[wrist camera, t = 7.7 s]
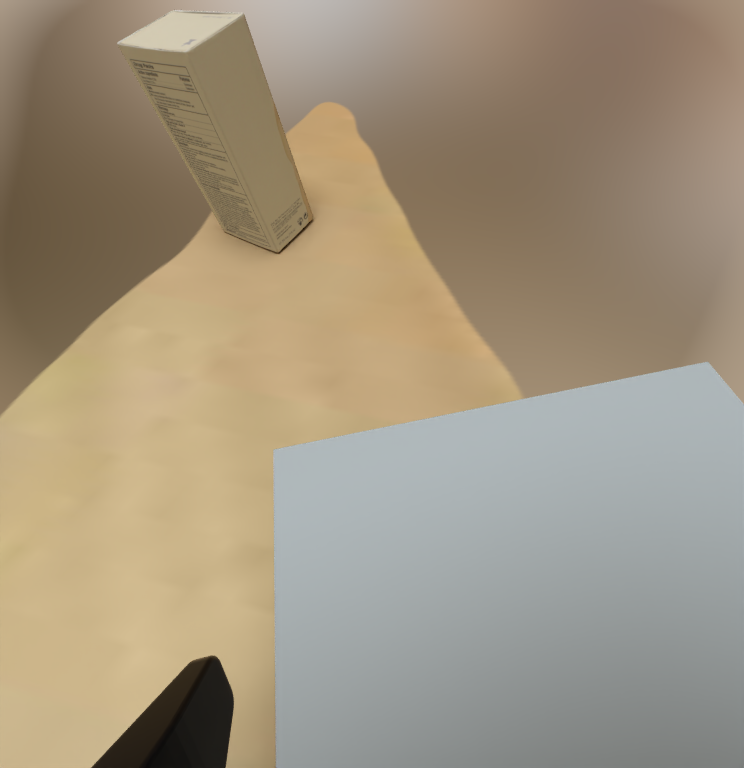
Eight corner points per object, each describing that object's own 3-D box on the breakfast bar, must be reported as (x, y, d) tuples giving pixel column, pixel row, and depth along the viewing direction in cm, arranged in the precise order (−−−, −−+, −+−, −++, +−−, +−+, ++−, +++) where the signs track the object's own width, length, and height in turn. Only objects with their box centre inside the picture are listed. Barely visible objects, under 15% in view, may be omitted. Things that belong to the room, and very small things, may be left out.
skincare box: (315, 219, 31) (251, 11, 21) (277, 257, 29) (187, 51, 19) (257, 199, 33) (174, 5, 23) (218, 232, 32) (111, 39, 22)
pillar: (596, 774, 11) (1506, 1307, 2) (416, 807, 11) (281, 1502, 2) (527, 578, 14) (708, 361, 5) (385, 606, 14) (273, 449, 5)
